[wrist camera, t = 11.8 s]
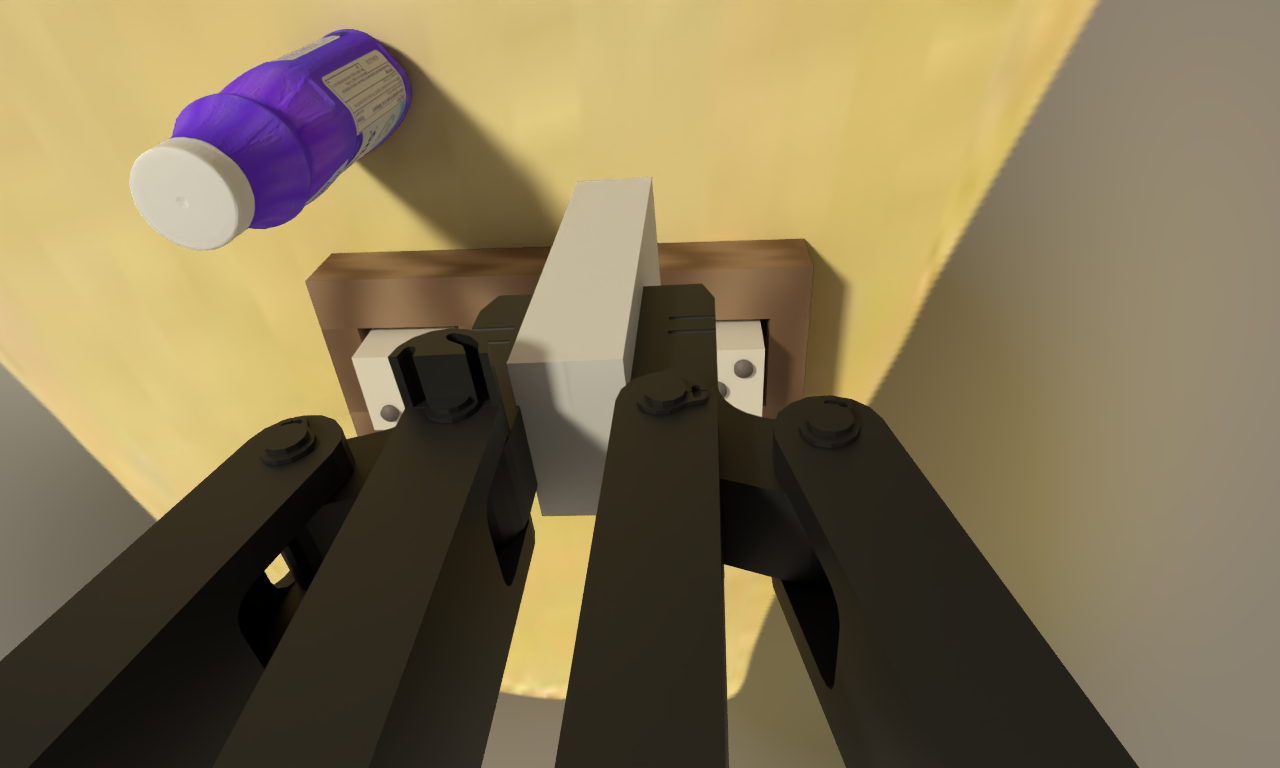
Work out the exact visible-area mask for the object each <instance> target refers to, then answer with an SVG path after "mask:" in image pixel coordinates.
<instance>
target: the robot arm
mask: <svg viewBox="0 0 1280 768" xmlns="http://www.w3.org/2000/svg"><path fill="white" fill-rule="evenodd" d="M388 360H389V363H390V366H391V369H392V372H393V375H394V378H395V381H396V384H397V387H398V389H399V392H400V395H401V398H402V401H403V404H404V407H405V409H404V411H403V413H402V415H401V417H400V419H399V421H398V422H397V424H396V426H395V427H393V428H390V429H387V430H384V431H380V432H375V433H371V434H367V435H363V436H359V437H354V438H350V439H346V437H345V435H344V433H343V430H342V428H341V427H340V426H339V424H338V423H337V422H336V421H335V420H334V419H331V418H328V417H325V416H322V415H311V416H300V417H294V418H289V419H286V420H282V421H280V422H279V423H277V424H274V425H272V426H270V427H268V428H265V429H264V430H262V431H261V432H259V433H258V434H257V435H255V436H254V437H252V438H251V439H249V440H248V441H247V442H246V443H245V444H244V445H243V446H241V447H240V448H239V449H238V450H237V451H236V452H235V453H234V454H232V455H231V456H230V457H229V458H228V459H227V460H226V461H225V462H223V463H222V464H221V465H220V466H219V467H218V468H217V469H216V470H215V471H213V472H212V473H211V474H210V475H209V476H208V477H207V478H206V479H204V480H203V481H202V482H201V483H200V484H199V485H198V486H197V487H195V488H194V489H193V490H192V491H191V492H190V493H189V494H188V495H186V496H185V497H184V498H183V499H182V500H181V501H180V502H179V503H177V504H176V505H175V506H174V507H173V508H172V509H171V510H170V511H168V512H167V513H166V514H165V515H164V516H163V517H162V518H161V519H159V520H158V521H157V522H156V523H155V524H154V525H153V526H152V527H151V528H149V529H148V530H147V531H146V532H145V533H144V534H143V535H142V536H140V537H139V538H138V539H137V540H136V541H135V542H134V543H133V544H131V545H130V546H129V547H128V548H127V549H126V550H125V551H124V552H122V553H121V554H120V555H119V556H118V557H117V558H116V559H115V560H113V561H112V562H111V563H110V564H109V565H108V566H107V567H106V568H104V569H103V570H102V571H101V572H100V573H99V574H98V575H97V576H96V577H94V578H93V579H92V580H91V581H90V582H89V583H88V584H86V585H85V586H84V587H83V588H82V589H81V590H80V591H79V592H77V593H76V594H75V595H74V596H73V597H72V598H71V599H70V600H68V602H66V603H65V604H64V605H63V606H62V607H61V608H60V609H59V610H57V611H56V612H55V613H54V614H53V615H52V616H51V617H49V618H48V619H47V620H46V621H45V622H44V623H43V624H42V625H41V626H39V627H38V628H37V629H36V630H35V631H34V632H33V633H31V634H30V635H29V636H28V637H27V638H26V639H25V640H24V641H23V642H21V643H20V644H19V645H18V646H17V647H16V648H15V649H14V650H12V651H11V652H10V653H9V654H8V655H7V656H6V657H5V658H3V659H2V660H1V661H0V768H481V765H482V761H483V757H484V753H485V749H486V744H487V740H488V736H489V732H490V728H491V724H492V720H493V715H494V711H495V707H496V703H497V699H498V695H499V691H500V686H501V682H502V678H503V674H504V670H505V666H506V662H507V657H508V653H509V649H510V645H511V641H512V637H513V632H514V628H515V624H516V620H517V616H518V612H519V608H520V603H521V599H522V595H523V591H524V587H525V583H526V578H527V574H528V570H529V566H530V562H531V558H532V554H533V549H534V545H535V530H534V526H533V522H532V518H531V514H530V512H531V508H532V504H533V501H534V497H535V493H536V492H537V496H538V500H539V505H540V509H541V513H542V516H577V515H596V521H595V527H594V533H593V539H592V545H591V551H590V557H589V563H588V569H587V575H586V581H585V587H584V593H583V599H582V605H581V611H580V617H579V623H578V629H577V635H576V641H575V647H574V654H573V660H572V666H571V672H570V678H569V684H568V690H567V696H566V703H565V708H564V714H563V720H562V726H561V732H560V738H559V744H558V750H557V756H556V762H555V768H729V757H728V756H729V753H728V719H727V718H728V714H727V676H726V638H725V600H724V564H725V565H729V566H733V567H737V568H740V569H744V570H748V571H751V572H755V573H759V574H763V575H766V576H770V577H772V583H773V588H774V590H775V593H776V595H777V598H778V600H779V603H780V605H781V607H782V610H783V612H784V615H785V617H786V620H787V622H788V625H789V627H790V629H791V632H792V635H793V637H794V640H795V642H796V644H797V647H798V649H799V652H800V654H801V657H802V659H803V662H804V664H805V667H806V669H807V672H808V674H809V677H810V679H811V681H812V684H813V686H814V689H815V692H816V694H817V696H818V699H819V701H820V704H821V706H822V709H823V711H824V714H825V716H826V719H827V721H828V724H829V726H830V729H831V731H832V734H833V736H834V738H835V741H836V744H837V746H838V748H839V751H840V753H841V756H842V758H843V761H844V763H845V766H846V768H1139V767H1138V766H1137V764H1136V763H1135V761H1134V760H1133V759H1132V757H1131V756H1130V755H1129V753H1128V752H1127V751H1126V749H1125V748H1124V747H1123V745H1122V744H1121V742H1120V741H1119V740H1118V738H1117V737H1116V736H1115V734H1114V733H1113V731H1112V730H1111V729H1110V727H1109V726H1108V725H1107V723H1106V722H1105V721H1104V719H1103V718H1102V717H1101V715H1100V714H1099V712H1098V711H1097V710H1096V708H1095V707H1094V706H1093V704H1092V703H1091V702H1090V700H1089V699H1088V697H1087V696H1086V695H1085V694H1084V692H1083V691H1082V689H1081V688H1080V687H1079V685H1078V684H1077V683H1076V681H1075V680H1074V678H1073V677H1072V676H1071V674H1070V673H1069V672H1068V670H1067V669H1066V668H1065V666H1064V665H1063V664H1062V662H1061V661H1060V659H1059V658H1058V657H1057V655H1056V654H1055V653H1054V651H1053V650H1052V649H1051V647H1050V646H1049V644H1048V643H1047V642H1046V640H1045V639H1044V638H1043V636H1042V635H1041V634H1040V632H1039V631H1038V629H1037V628H1036V627H1035V625H1034V624H1033V623H1032V621H1031V620H1030V619H1029V617H1028V616H1027V614H1026V613H1025V612H1024V610H1023V609H1022V608H1021V606H1020V605H1019V604H1018V602H1017V601H1016V599H1015V598H1014V597H1013V595H1012V594H1011V593H1010V591H1009V590H1008V589H1007V587H1006V586H1005V585H1004V583H1003V582H1002V580H1001V579H1000V578H999V576H998V575H997V574H996V572H995V571H994V570H993V568H992V567H991V565H990V564H989V563H988V561H987V560H986V559H985V557H984V556H983V555H982V553H981V552H980V551H979V549H978V548H977V546H976V545H975V544H974V542H973V541H972V540H971V538H970V537H969V536H968V534H967V533H966V532H965V530H964V529H963V527H962V526H961V525H960V523H959V522H958V521H957V519H956V518H955V517H954V515H953V514H952V512H951V511H950V510H949V508H948V507H947V506H946V504H945V503H944V502H943V500H942V499H941V498H940V496H939V495H938V494H937V492H936V491H935V489H934V488H933V487H932V485H931V484H930V483H929V481H928V480H927V479H926V477H925V476H924V474H923V473H922V472H921V470H920V469H919V468H918V466H917V465H916V463H915V462H914V461H913V459H912V458H911V457H910V455H909V454H908V453H907V452H906V450H905V449H904V447H903V446H902V445H901V443H900V442H899V440H898V439H897V438H896V436H895V435H894V433H893V432H892V431H891V429H890V428H889V427H888V425H887V424H886V423H885V421H884V420H883V419H882V418H881V417H880V416H879V415H878V414H876V412H875V411H873V410H872V409H871V408H870V407H868V406H866V405H864V404H861V403H859V402H857V401H855V400H852V399H848V398H842V397H836V396H814V397H807V398H804V399H801V400H798V401H795V402H792V403H790V404H789V405H788V406H786V407H785V408H784V409H782V410H781V411H780V412H779V413H778V415H777V417H776V419H770V418H765V417H760V416H756V415H753V414H749V413H746V412H744V411H742V410H740V409H738V408H735V407H734V406H732V405H731V404H730V403H729V402H727V401H726V400H725V399H724V397H723V396H722V395H721V393H720V392H719V388H718V367H717V341H716V315H715V297H714V296H713V295H712V294H711V293H710V292H709V291H708V290H707V288H706V287H705V286H704V285H703V284H702V283H700V284H680V285H661V281H660V269H659V257H658V245H657V234H656V222H655V210H654V198H653V186H652V177H641V178H626V179H610V180H595V181H580V182H577V183H576V186H575V189H574V191H573V194H572V196H571V199H570V201H569V204H568V207H567V209H566V212H565V214H564V217H563V220H562V222H561V225H560V227H559V230H558V232H557V235H556V238H555V240H554V243H553V245H552V248H551V250H550V253H549V256H548V258H547V261H546V263H545V266H544V269H543V271H542V274H541V276H540V279H539V281H538V284H537V287H536V289H535V292H534V294H523V295H503V296H498V297H497V298H495V299H494V300H493V301H492V302H490V303H489V304H488V305H487V306H486V307H484V308H483V309H482V310H481V311H480V312H479V314H478V316H477V318H476V320H475V322H474V324H473V326H472V330H469V329H456V328H449V329H442V330H435V331H431V332H428V333H425V334H422V335H419V336H416V337H413V338H411V339H410V340H408V341H406V342H404V343H403V344H401V345H399V346H398V347H397V348H396V349H395V350H394V351H393V352H392V353H391V354H390V355H389V356H388ZM280 553H281V555H282V556H283V558H284V560H285V562H286V564H287V566H288V568H289V570H290V571H289V572H288V573H287V574H286V576H285V577H284V578H282V579H281V580H280V581H278V582H277V583H276V584H272V583H271V582H270V580H269V578H268V577H267V575H266V573H265V569H266V568H267V567H268V566H269V565H270V564H271V563H272V562H273V561H274V559H275V558H276V557H277V556H278V555H279V554H280Z"/></svg>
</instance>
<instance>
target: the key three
mask: <svg viewBox="0 0 1280 768" xmlns="http://www.w3.org/2000/svg"><path fill="white" fill-rule="evenodd" d="M716 341H717V367H718V388H719V392H720V393H721V395H722V396H723V397H724V399H725V400H726V401H727V402H729V403H730V404H731V405H732V406H734V407H735V408H738V409H740V410H742V411H744V412H746V413H749V414H753V415H756V416H760V417H762V404H763V382H764V359H765V347H764V341H763V335H762V329H761V323H760V319H739V320H716Z"/></svg>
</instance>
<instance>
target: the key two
mask: <svg viewBox="0 0 1280 768" xmlns="http://www.w3.org/2000/svg"><path fill="white" fill-rule="evenodd" d="M449 328H456V329H459V328H458V326H442V327H399V328H372V329H371V331H370V332H369V334H368V335H367V337H366V338H365V339H364V341H363V342H362V344H361V345H360V347H359V348H358V349H357V351H356V352H355V354H354V355H353V357H352V361H353V364H354V368H355V371H356V374H357V377H358V380H359V383H360V386H361V389H362V392H363V396H364V399H365V402H366V405H367V408H368V411H369V414H370V417H371V420H372V424H373V427H374V430H387V429H390V428H393V427H395V426H396V424H397V422H398V421H399V419H400V417H401V415H402V413H403V411H404V409H405V407H404V404H403V401H402V398H401V395H400V392H399V389H398V387H397V384H396V381H395V378H394V375H393V372H392V369H391V366H390V363H389V360H388V356H389V355H390V354H391V353H392V352H393V351H394V350H395V349H396V348H397V347H398V346H399V345H401V344H403V343H404V342H406V341H408V340H410V339H411V338H413V337H416V336H419V335H422V334H425V333H428V332H431V331H435V330H442V329H449Z"/></svg>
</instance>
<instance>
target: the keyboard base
mask: <svg viewBox="0 0 1280 768" xmlns="http://www.w3.org/2000/svg"><path fill="white" fill-rule="evenodd" d="M657 245H658V257H659V269H660V281H661V285H680V284H700V283H702V284H703V285H704V286H705V287H706V288H707V290H708V291H709V292H710V293H711V294H712V295H713V296H714V297H715V315H716V320H739V319H763V341H764V347H765V359H764V382H763V404H762V417H765V418H770V419H776V417H777V415H778V413H779V412H780V411H781V410H782V409H784V408H785V407H786V406H788V405H789V404H790V403H792V402H795V401H798V400H801V399H803V390H804V378H805V366H806V354H807V341H808V329H809V317H810V304H811V292H812V280H813V264H812V261H811V258H810V255H809V252H808V249H807V245H806V242H805V239H784V240H752V241H720V242H688V243H657ZM551 248H552V247H528V248H497V249H465V250H433V251H401V252H369V253H337V254H331V255H330V256H329V257H328V258H327V259H326V260H325V261H324V262H323V263H322V264H321V265H320V266H319V267H318V268H317V269H316V271H315V272H314V273H313V274H312V275H311V276H310V277H309V278H308V279H307V280H306V281H305V282H306V285H307V288H308V291H309V294H310V297H311V300H312V303H313V306H314V309H315V312H316V315H317V318H318V321H319V324H320V327H321V330H322V333H323V336H324V338H325V341H326V344H327V347H328V350H329V353H330V356H331V359H332V362H333V365H334V368H335V371H336V374H337V377H338V380H339V383H340V386H341V389H342V392H343V394H344V397H345V400H346V403H347V406H348V409H349V412H350V415H351V418H352V421H353V424H354V427H355V430H356V433H357V436H358V437H359V436H363V435H367V434H371V433H375V432H380V431H384V430H374V427H373V424H372V420H371V417H370V414H369V411H368V408H367V405H366V402H365V399H364V396H363V392H362V389H361V386H360V383H359V380H358V377H357V374H356V371H355V368H354V364H353V361H352V357H353V355H354V354H355V352H356V351H357V349H358V348H359V347H360V345H361V344H362V342H363V341H364V339H365V338H366V337H367V335H368V334H369V332H370V331H371V329H372V328H399V327H442V326H458V328H459V329H469V330H472V326H473V324H474V322H475V320H476V318H477V316H478V314H479V312H480V311H481V310H482V309H483V308H484V307H486V306H487V305H488V304H489V303H490V302H492V301H493V300H494V299H495V298H497V297H498V296H503V295H523V294H534V292H535V289H536V287H537V284H538V281H539V279H540V276H541V274H542V271H543V269H544V266H545V263H546V261H547V258H548V256H549V253H550V250H551Z"/></svg>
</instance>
